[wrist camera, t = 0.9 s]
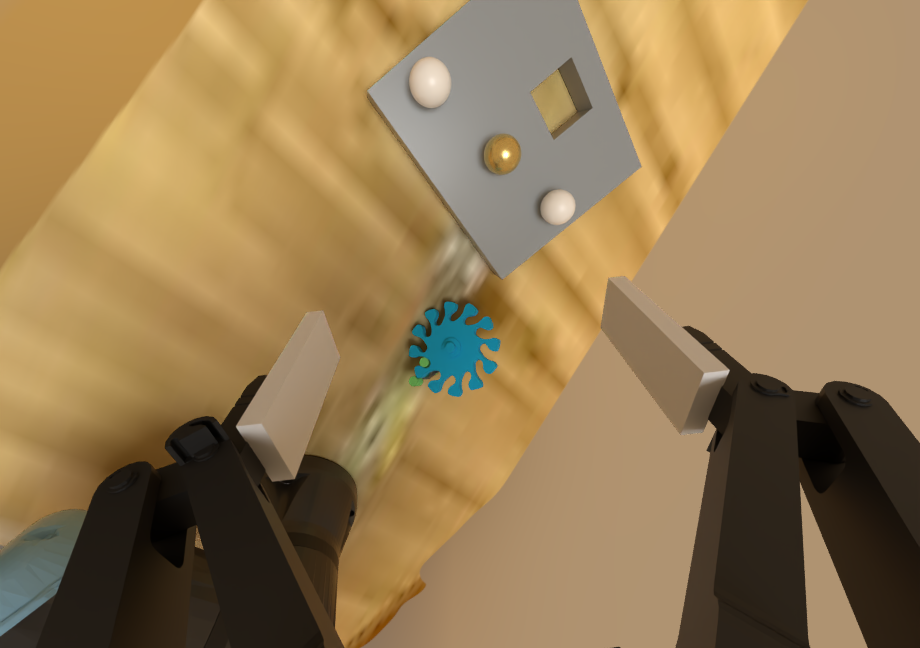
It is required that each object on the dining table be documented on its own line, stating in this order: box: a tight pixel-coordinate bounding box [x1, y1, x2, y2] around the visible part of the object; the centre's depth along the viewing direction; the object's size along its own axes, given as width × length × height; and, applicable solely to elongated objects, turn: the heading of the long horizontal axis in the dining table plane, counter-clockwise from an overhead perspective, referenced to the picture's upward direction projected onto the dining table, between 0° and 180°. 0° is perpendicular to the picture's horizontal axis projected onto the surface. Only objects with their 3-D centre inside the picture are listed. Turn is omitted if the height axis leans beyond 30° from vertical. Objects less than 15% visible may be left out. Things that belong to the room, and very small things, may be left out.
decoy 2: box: [409, 57, 451, 108], centre depth 26 cm, size 3×3×3 cm
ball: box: [484, 133, 521, 175], centre depth 29 cm, size 3×3×3 cm
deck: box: [367, 0, 642, 279], centre depth 32 cm, size 18×20×2 cm
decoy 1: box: [540, 189, 576, 225], centre depth 33 cm, size 3×3×3 cm
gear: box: [409, 302, 500, 397], centre depth 38 cm, size 11×6×10 cm
